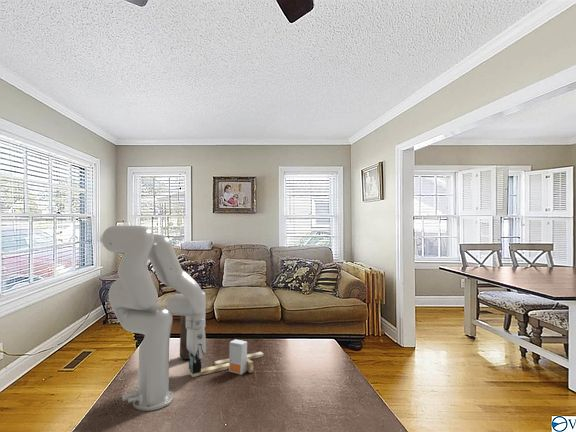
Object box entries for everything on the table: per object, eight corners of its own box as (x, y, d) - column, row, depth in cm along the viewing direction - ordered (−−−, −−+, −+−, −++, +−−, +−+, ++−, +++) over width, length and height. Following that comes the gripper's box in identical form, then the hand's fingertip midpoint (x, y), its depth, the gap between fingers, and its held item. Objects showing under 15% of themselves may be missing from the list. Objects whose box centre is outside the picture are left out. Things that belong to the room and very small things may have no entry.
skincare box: (228, 372, 147) (228, 341, 147) (235, 368, 150) (235, 338, 151) (241, 375, 144) (241, 344, 144) (247, 371, 148) (247, 341, 148)
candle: (194, 361, 157) (194, 314, 157) (177, 361, 157) (177, 314, 158) (199, 355, 165) (199, 310, 165) (182, 354, 165) (183, 310, 165)
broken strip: (217, 366, 152) (217, 363, 152) (214, 364, 154) (214, 361, 154) (263, 356, 164) (263, 353, 164) (260, 354, 166) (260, 351, 166)
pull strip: (199, 384, 134) (199, 365, 134) (189, 374, 144) (189, 355, 144) (253, 371, 146) (253, 353, 146) (240, 362, 156) (241, 345, 156)
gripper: (212, 327, 139) (212, 376, 138) (197, 317, 152) (197, 361, 152) (193, 330, 134) (192, 380, 134) (179, 319, 148) (179, 365, 148)
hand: (195, 369), depth 143 cm, fingers closed on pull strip, 3 cm apart
